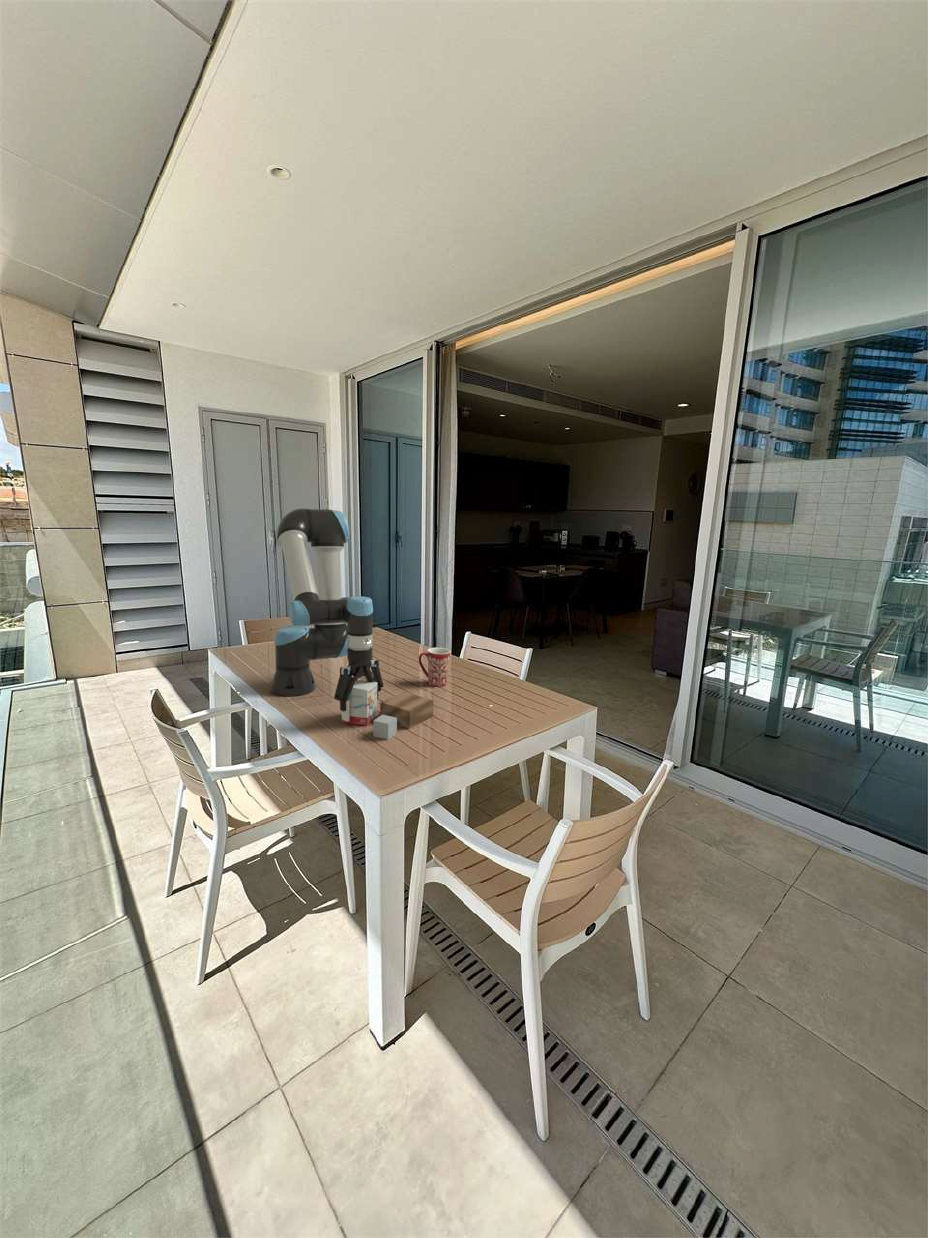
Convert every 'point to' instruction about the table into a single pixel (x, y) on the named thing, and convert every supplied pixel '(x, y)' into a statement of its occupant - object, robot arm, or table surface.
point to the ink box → (362, 703)
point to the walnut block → (407, 709)
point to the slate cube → (385, 727)
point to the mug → (436, 666)
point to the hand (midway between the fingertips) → (359, 714)
